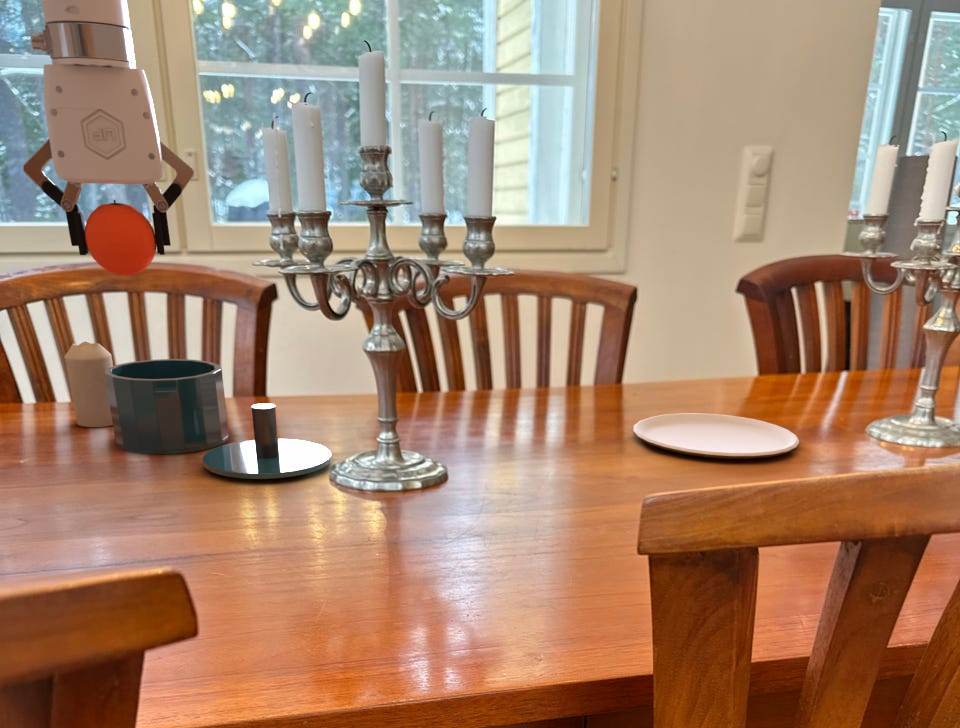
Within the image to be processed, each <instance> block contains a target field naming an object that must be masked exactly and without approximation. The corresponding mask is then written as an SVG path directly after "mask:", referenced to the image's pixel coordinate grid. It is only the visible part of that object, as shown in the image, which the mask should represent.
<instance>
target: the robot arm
mask: <svg viewBox="0 0 960 728" xmlns="http://www.w3.org/2000/svg"><path fill="white" fill-rule="evenodd" d="M40 1H41V6H42V7H41V8H42V13H43V18H44V29H42V32H41V31H39V32H38V33H30V42H31V47H32V49H33V51H41V52H42V53H44V54H45V53H46V55H47V56H49V58H50V59H51V63H50V64H43V96H44V97H43V98H44V107H45V117H46V124H47V132H48V139H47V140H46V141H45V142H44V143H43V144H42V145H41V146H40V148H39V149H38V150H36V152H35V153H34V154H33V155H32V156H31V157H30V158H29V159H28V160H27V161H26V162H25V163H24V164H23V166H22V170H23V172H24V173H25V175H26V176H27V177H29V179H30V180H31V181H33V183H34V184H35V185H36V186H37V187H38V188H40V189H41V190H42V192H43V193H44V194H45V195H46V196H48V198H50V199H51V200H52V201H54V203H55V204H57V205H58V207H60V208H61V209H62V210H63V211H65V216H66V222H67V228H68V234H69V239H70V244H71V246H72V247H78V253H79V256H86V255H87V254H90V252H89V250H88V248H87V245H86V241H85V227H86V223H85V218H84V212H82V211H81V210H80V205H79V204H78V202H79V199H80V196H81V192H82V190H83V187H84V184H101V185H103V184H107V185H108V184H110V185H142V187H143V189H144V190H145V192H146V194H147V195H148V197H149V198H150V200H151V202H152V203H153V206H152V207H153V212H151V216H152V224H153V230H154V233H155V239H156V252H157V254H159V255H160V256H165V255H166V251H165V247H171V246H172V245H171V236H170V230H169V221H168V214H167V212H168V210H169V209H170V208H171V207H172V206H173V204H174V203H175V202H176V201H177V200H178V198H180V196H181V194H182V193H183V191H184V190H185V188H186V187H187V186H188V184H189V183H190V181H191V180H192V179H193V177H194V175H195V172H194V169H193V168H192V167H191V166H190V165H188V164H187V163H186V162H185V161H184V159H182V158H180V157H179V156H178V155H177V154H176V153H175V152H174V151H172V150H171V149H170V148H168V147H167V145H165V144H164V143H163V142H162V141H161V140H160V135H159V129H158V124H157V118H156V112H155V107H154V101H153V97H152V94H151V89H150V86H149V82H148V79H147V75H146V73H145V70H144V69H141V68H137V65H136V60H135V59H136V58H135V53H134V52H135V51H134V43H133V37H132V30H131V23H130V22H131V21H130V16H129V7H128V0H40ZM51 161H52V163H53V167H54V170H55V173H56V175H57V176H58V177H59V178H60V179H62V180H64V181H66V185H65V188H64V190H62V188H60V187H59V186H58V185H57V184H55V182H54V181H52V180H51V179H50V178H49V177H48V176H47V174H46V173H45V171H44V169H45V167H46V166H47V165H48V164H49V163H50V162H51ZM164 162H165V164H167V165H168V166H170V167H171V168H172V169H173V170H174V171H175V173H176V176H175V177H174V178H173V181H172V182H171V184H170V185H168V187H167V189H165V191H164V192H162V191H161V189H160V188H159V186H158V185H157V183H156V182H159V181H160V180H162V177H163V175H164Z"/></svg>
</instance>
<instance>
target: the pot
mask: <svg viewBox="0 0 960 728" xmlns="http://www.w3.org/2000/svg"><path fill="white" fill-rule="evenodd" d="M104 375H105V381H106V387H107V393H108V399H109V405H110V411H111V417H112V423H113V425H112V428H113V434H114V440H115V442H116V445H117V447H119V448H120V449H122V450H124V451H127V452H131V453H136V454H145V455H177V454H187V453H195V452H200V451H206V450H209V449H214V448H217V447H219V446H222V445H224V444H225V443H226V442H227V441H228V440H229V438H230V437H229V435H230V433H229V424H228V423H229V422H228V415H227V405H226V396H225V387H224V377H223V369H222V367H221V364H218V363H215V362H212V361H207V360H200V359H186V358H170V359H169V358H165V359H164V358H162V359H161V358H160V359H147V360H137V361H129V362H123V363H118V364H115V365H113V366H112V367H110V368H107V369H105V373H104Z"/></svg>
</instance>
